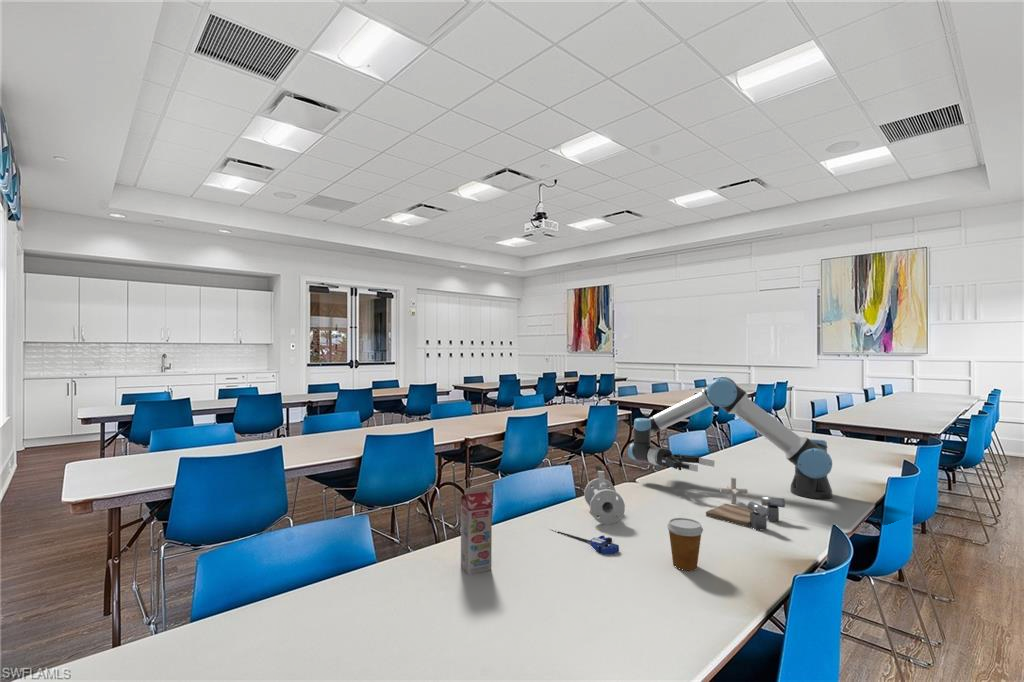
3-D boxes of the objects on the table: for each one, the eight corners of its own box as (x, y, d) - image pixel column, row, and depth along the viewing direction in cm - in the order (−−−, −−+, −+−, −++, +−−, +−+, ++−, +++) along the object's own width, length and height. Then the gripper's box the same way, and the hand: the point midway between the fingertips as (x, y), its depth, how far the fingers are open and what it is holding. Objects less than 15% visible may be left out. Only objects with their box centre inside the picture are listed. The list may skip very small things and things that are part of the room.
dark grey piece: (746, 525, 171) (746, 501, 171) (756, 524, 172) (756, 501, 172) (760, 532, 164) (759, 508, 164) (770, 531, 165) (770, 507, 165)
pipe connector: (742, 499, 200) (742, 475, 200) (751, 507, 190) (751, 481, 190) (716, 499, 201) (716, 474, 201) (724, 506, 191) (724, 480, 191)
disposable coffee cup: (685, 576, 132) (685, 531, 132) (659, 562, 140) (659, 520, 140) (710, 569, 136) (710, 525, 136) (684, 556, 145) (684, 515, 145)
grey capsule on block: (762, 521, 175) (762, 498, 175) (761, 517, 179) (761, 495, 179) (785, 523, 173) (785, 500, 173) (783, 519, 176) (782, 497, 177)
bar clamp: (628, 540, 151) (609, 549, 144) (628, 548, 151) (610, 557, 144) (548, 518, 174) (529, 525, 167) (548, 525, 174) (529, 533, 167)
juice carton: (460, 564, 139) (461, 485, 139) (483, 560, 141) (483, 483, 142) (468, 574, 133) (468, 491, 133) (491, 570, 135) (491, 489, 136)
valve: (625, 525, 171) (624, 481, 171) (590, 524, 171) (590, 481, 171) (612, 505, 193) (612, 466, 193) (582, 505, 193) (582, 466, 193)
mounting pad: (725, 507, 190) (725, 503, 190) (766, 517, 179) (766, 513, 179) (706, 515, 180) (705, 511, 180) (747, 527, 169) (747, 522, 169)
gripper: (675, 461, 228) (720, 470, 212) (644, 469, 212) (689, 479, 196) (675, 445, 228) (720, 452, 212) (644, 451, 212) (689, 460, 196)
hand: (705, 465), depth 204 cm, fingers open, 13 cm apart
